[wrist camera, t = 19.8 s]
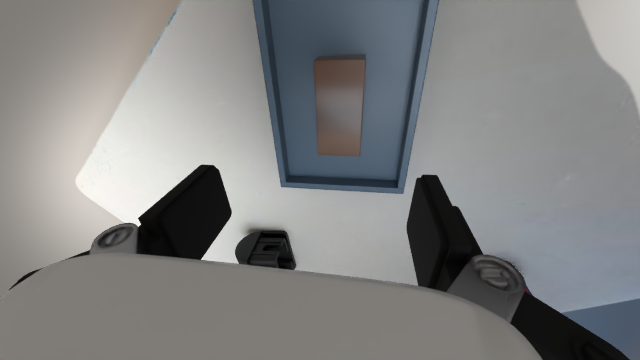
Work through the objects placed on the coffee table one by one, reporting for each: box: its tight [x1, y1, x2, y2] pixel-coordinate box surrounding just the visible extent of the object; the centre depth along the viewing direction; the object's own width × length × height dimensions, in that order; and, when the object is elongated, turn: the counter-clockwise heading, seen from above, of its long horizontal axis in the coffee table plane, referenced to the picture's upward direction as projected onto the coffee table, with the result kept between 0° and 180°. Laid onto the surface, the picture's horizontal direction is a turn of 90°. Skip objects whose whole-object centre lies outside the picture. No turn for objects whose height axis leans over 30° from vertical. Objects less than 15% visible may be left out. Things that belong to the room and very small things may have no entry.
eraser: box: [314, 54, 366, 156], centre depth 24 cm, size 9×4×4 cm, turn 2°
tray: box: [253, 0, 439, 194], centre depth 26 cm, size 22×16×2 cm
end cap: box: [235, 231, 296, 270], centre depth 39 cm, size 10×7×7 cm
